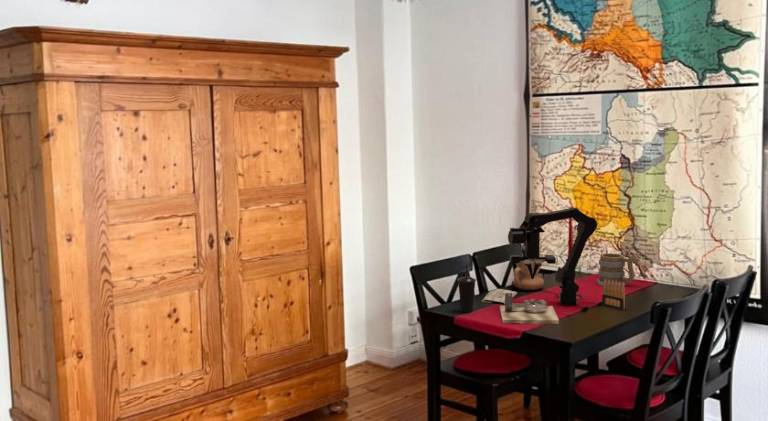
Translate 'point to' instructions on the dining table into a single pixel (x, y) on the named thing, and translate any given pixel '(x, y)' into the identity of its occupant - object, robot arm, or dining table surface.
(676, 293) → the dining table surface
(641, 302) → the dining table surface
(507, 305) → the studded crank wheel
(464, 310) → the drinking cup
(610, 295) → the ammunition clip
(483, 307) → the dining table surface
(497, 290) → the newspaper
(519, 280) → the ceramic jug
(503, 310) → the birch board
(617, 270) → the tankard
